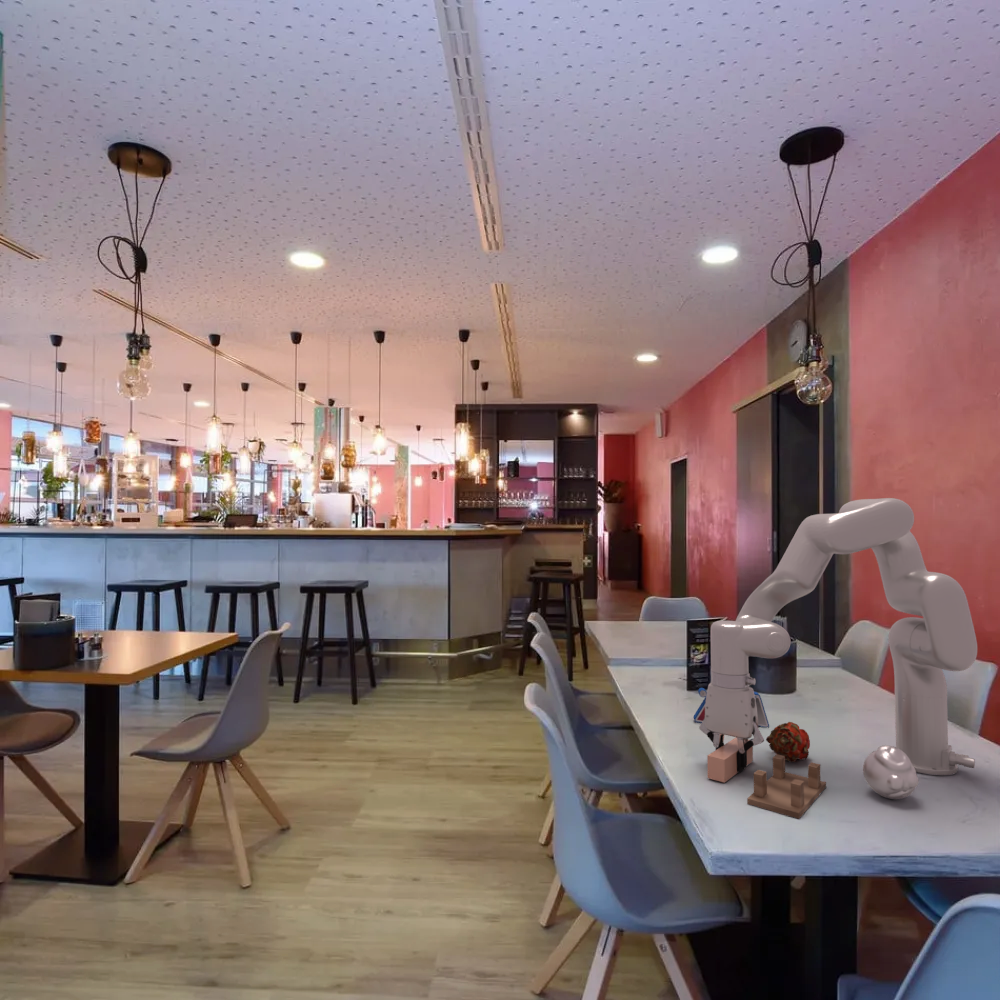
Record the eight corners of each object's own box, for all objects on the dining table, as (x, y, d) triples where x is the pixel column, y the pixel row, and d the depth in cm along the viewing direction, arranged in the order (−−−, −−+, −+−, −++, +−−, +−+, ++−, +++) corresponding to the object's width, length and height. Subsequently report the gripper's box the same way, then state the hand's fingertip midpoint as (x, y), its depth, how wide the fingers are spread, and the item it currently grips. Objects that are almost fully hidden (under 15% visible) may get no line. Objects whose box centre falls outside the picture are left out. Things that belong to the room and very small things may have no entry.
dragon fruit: (789, 776, 133) (783, 764, 144) (824, 755, 132) (815, 745, 143) (763, 739, 136) (758, 731, 147) (797, 718, 135) (790, 711, 146)
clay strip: (736, 757, 139) (736, 736, 139) (752, 761, 137) (752, 740, 137) (707, 778, 127) (707, 755, 127) (724, 782, 125) (724, 759, 125)
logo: (694, 721, 164) (698, 683, 164) (693, 719, 166) (697, 681, 166) (768, 735, 160) (772, 696, 161) (765, 732, 163) (770, 694, 163)
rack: (778, 775, 129) (778, 750, 130) (826, 787, 123) (825, 761, 124) (747, 803, 116) (747, 776, 116) (799, 818, 110) (798, 790, 110)
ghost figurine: (861, 801, 117) (860, 747, 118) (865, 784, 125) (864, 733, 126) (919, 813, 112) (918, 757, 113) (919, 795, 120) (918, 742, 121)
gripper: (775, 683, 130) (777, 772, 129) (699, 671, 141) (701, 753, 140) (763, 690, 124) (765, 783, 124) (685, 677, 135) (686, 763, 135)
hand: (731, 766), depth 132 cm, fingers closed on clay strip, 3 cm apart
